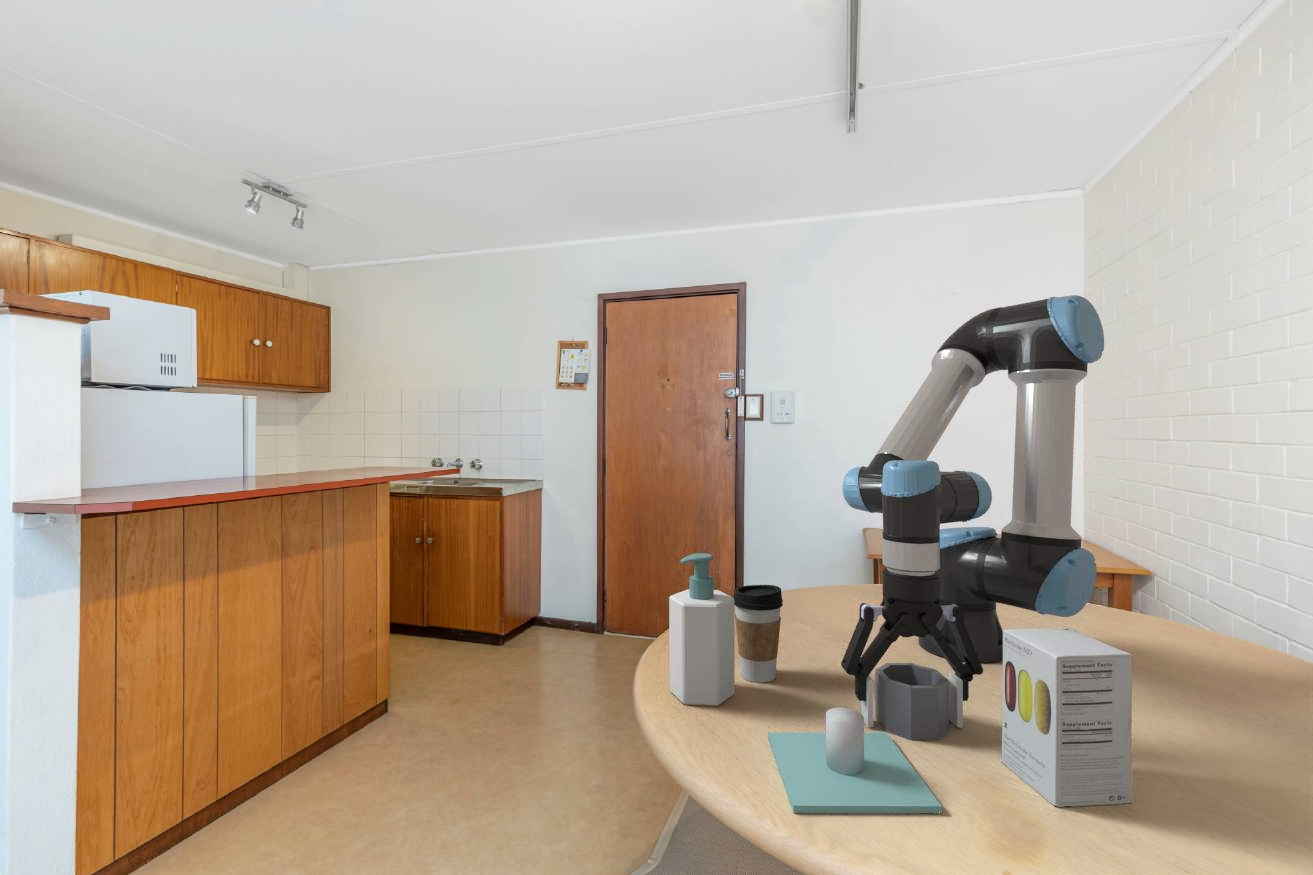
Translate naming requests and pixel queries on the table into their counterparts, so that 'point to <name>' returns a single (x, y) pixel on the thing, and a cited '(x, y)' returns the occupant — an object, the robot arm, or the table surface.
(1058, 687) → the supplement box
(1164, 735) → the table surface
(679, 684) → the soap bottle
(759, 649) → the coffee cup
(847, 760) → the teal base with peg
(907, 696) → the hollow octagonal tube
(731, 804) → the table surface
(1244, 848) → the table surface
